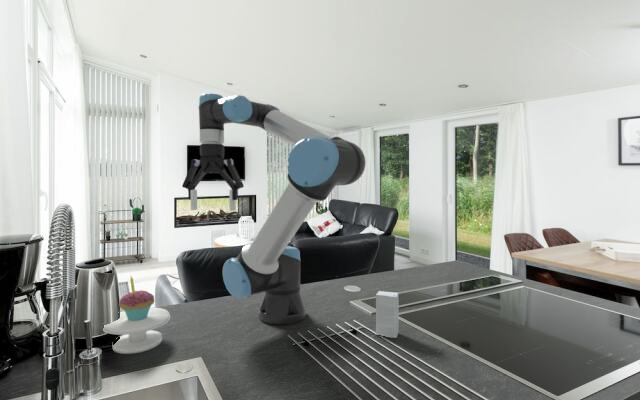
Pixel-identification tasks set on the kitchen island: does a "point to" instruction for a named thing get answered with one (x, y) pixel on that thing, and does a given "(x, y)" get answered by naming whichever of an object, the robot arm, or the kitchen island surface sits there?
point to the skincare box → (387, 314)
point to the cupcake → (136, 303)
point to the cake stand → (138, 331)
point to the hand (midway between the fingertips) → (213, 210)
